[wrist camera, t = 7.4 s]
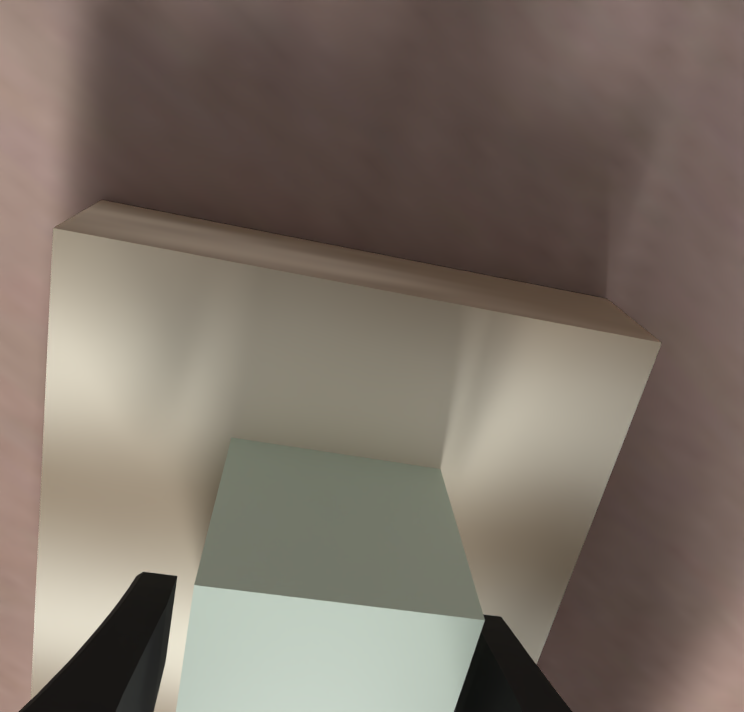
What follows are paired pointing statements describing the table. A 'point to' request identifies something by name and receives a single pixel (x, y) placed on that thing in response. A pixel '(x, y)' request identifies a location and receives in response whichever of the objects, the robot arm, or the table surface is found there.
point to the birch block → (310, 406)
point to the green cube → (329, 588)
